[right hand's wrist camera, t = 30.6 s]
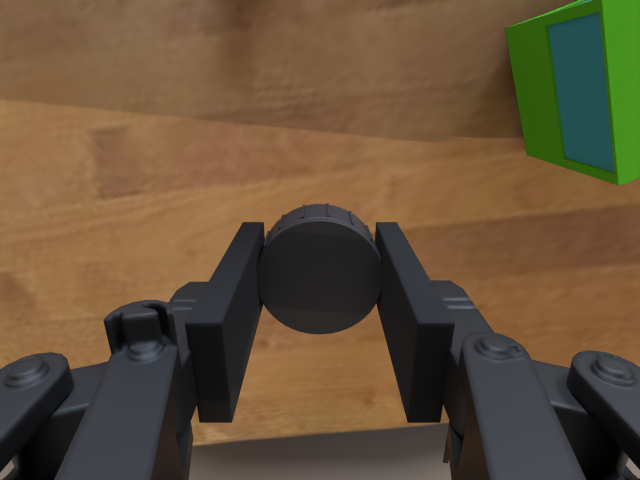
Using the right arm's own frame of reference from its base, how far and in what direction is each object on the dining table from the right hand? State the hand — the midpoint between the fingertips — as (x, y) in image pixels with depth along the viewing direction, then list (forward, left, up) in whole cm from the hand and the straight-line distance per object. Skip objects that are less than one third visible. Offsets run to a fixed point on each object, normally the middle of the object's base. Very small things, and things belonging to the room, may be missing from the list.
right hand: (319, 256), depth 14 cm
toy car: (-11, +17, -15) cm, 25 cm away
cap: (0, 0, +2) cm, 2 cm away
